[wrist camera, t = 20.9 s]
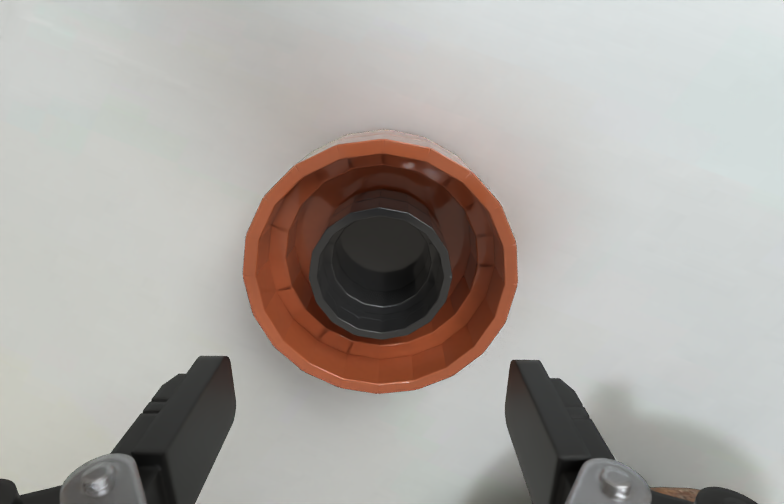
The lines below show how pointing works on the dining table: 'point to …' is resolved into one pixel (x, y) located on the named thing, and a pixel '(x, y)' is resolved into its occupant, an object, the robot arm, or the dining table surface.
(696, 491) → the jug
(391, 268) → the black bowl
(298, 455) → the dining table surface
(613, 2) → the dining table surface
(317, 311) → the terracotta bowl
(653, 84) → the dining table surface
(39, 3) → the dining table surface
